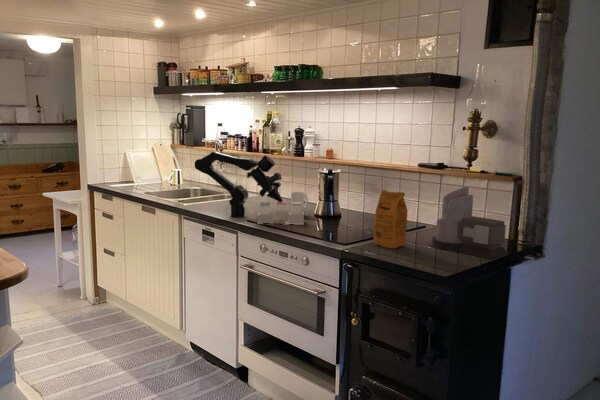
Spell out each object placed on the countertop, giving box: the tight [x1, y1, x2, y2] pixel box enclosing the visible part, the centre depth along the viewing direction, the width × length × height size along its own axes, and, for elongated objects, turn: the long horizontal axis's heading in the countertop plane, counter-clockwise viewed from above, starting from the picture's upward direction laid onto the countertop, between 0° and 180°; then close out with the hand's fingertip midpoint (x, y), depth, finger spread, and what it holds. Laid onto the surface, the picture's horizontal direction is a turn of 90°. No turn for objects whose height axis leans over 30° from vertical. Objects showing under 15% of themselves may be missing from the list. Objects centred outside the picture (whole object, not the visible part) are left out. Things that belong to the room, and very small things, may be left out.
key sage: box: [292, 202, 302, 214], centre depth 249 cm, size 5×5×6 cm
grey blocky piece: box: [428, 186, 510, 261], centre depth 199 cm, size 30×16×24 cm, turn 41°
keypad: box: [256, 208, 305, 226], centre depth 253 cm, size 22×18×4 cm
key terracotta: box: [276, 200, 288, 211], centre depth 258 cm, size 5×5×6 cm
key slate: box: [259, 201, 271, 215], centre depth 247 cm, size 5×5×6 cm
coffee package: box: [373, 188, 409, 249], centre depth 204 cm, size 10×12×22 cm
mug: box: [290, 191, 309, 213], centre depth 271 cm, size 10×7×12 cm, turn 127°
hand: (281, 201), depth 257 cm, fingers closed, pressing on key terracotta
